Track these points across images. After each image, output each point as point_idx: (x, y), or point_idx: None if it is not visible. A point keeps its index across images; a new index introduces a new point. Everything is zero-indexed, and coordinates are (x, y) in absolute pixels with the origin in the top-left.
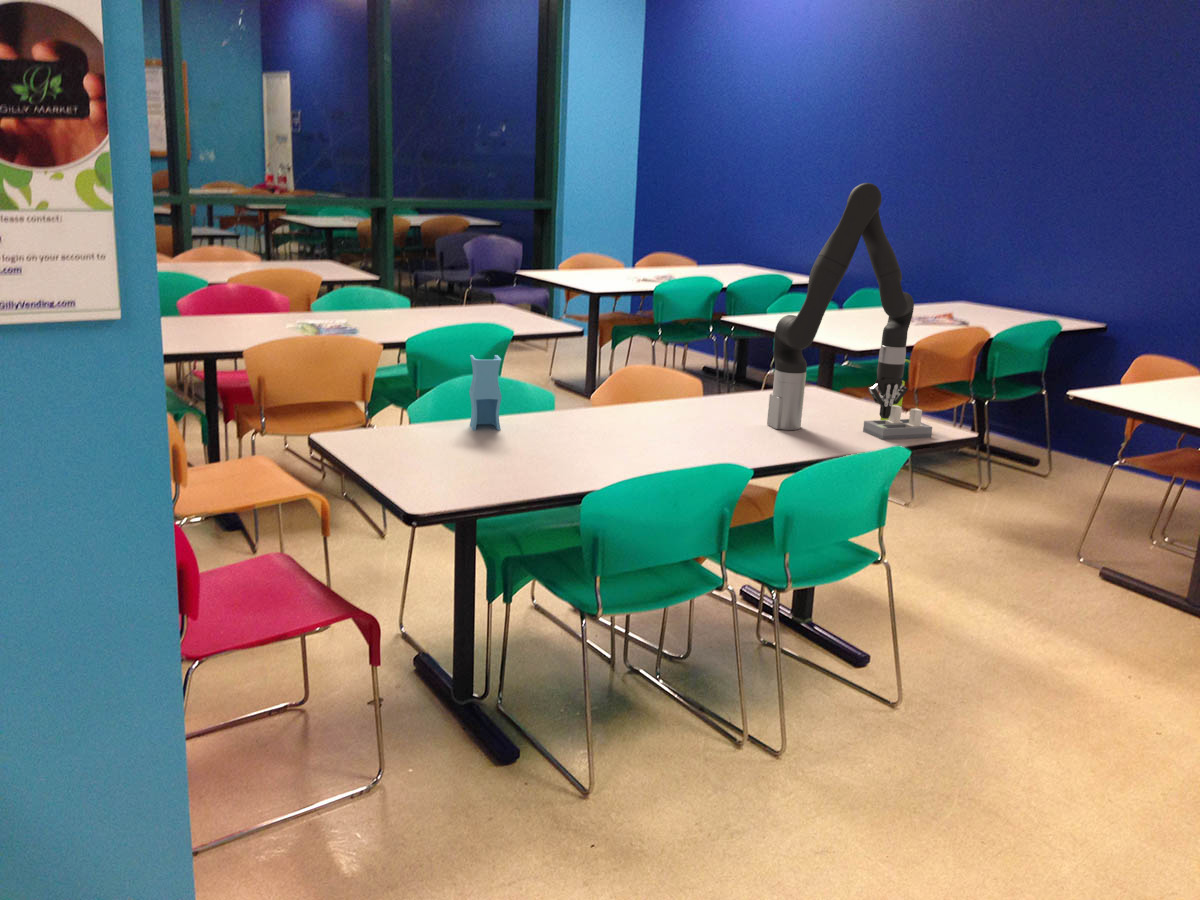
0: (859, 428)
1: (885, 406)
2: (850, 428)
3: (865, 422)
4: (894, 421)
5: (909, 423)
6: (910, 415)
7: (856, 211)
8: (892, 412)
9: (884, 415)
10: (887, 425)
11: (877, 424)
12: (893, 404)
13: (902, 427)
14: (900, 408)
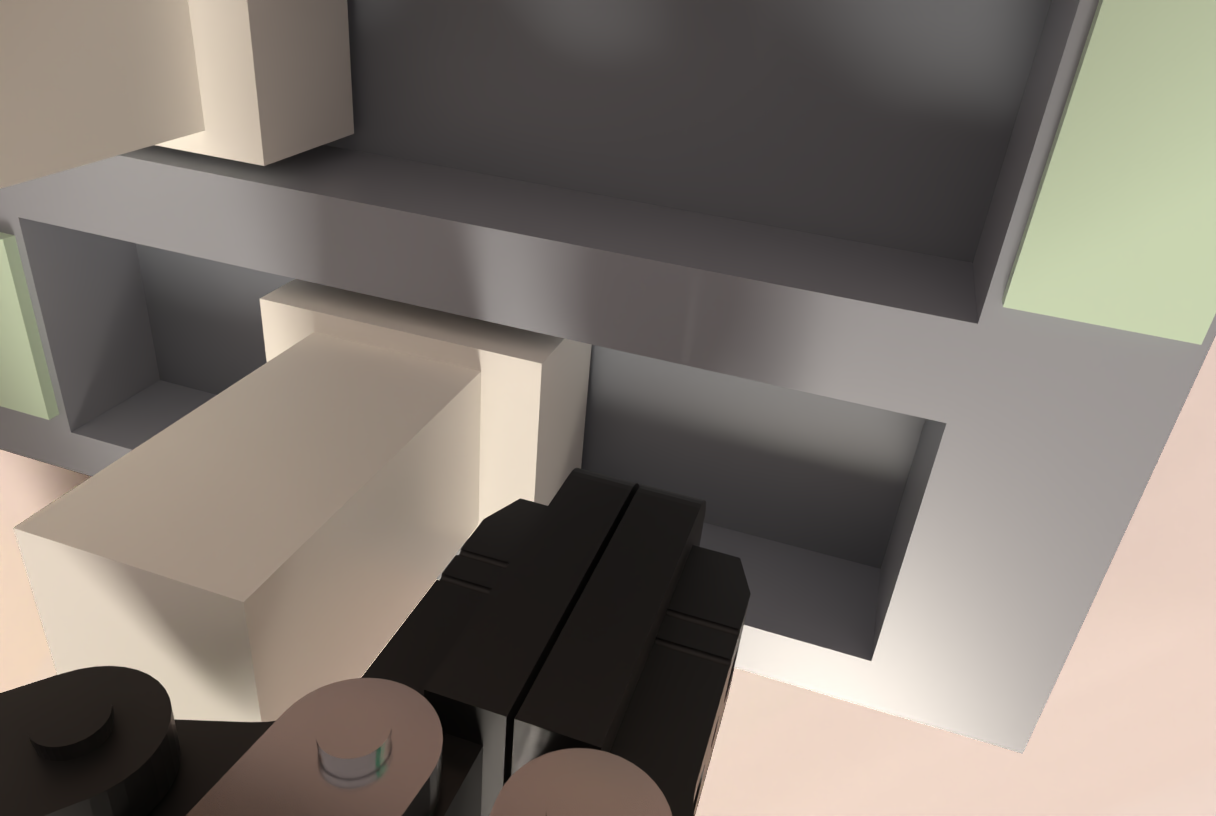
0: (894, 722)
1: (637, 767)
2: (1056, 791)
3: (1037, 696)
4: (442, 372)
5: (188, 98)
6: (8, 146)
7: None
8: (367, 561)
9: (685, 556)
10: (766, 275)
11: (1008, 418)
12: (229, 722)
13: (371, 178)
14: (90, 516)
